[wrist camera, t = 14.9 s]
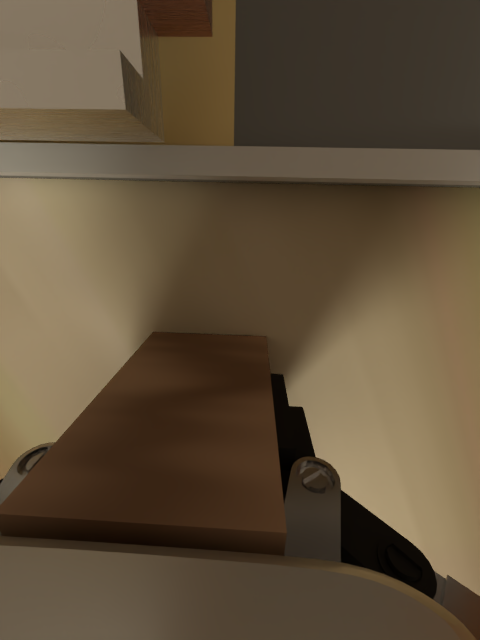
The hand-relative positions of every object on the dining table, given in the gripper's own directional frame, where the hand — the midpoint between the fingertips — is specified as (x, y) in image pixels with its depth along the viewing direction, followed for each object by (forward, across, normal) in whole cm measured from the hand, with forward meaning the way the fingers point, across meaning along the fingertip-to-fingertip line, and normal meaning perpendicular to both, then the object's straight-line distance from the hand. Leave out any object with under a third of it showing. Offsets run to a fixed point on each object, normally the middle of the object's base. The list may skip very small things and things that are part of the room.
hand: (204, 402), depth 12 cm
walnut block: (+2, 0, 0) cm, 2 cm away
